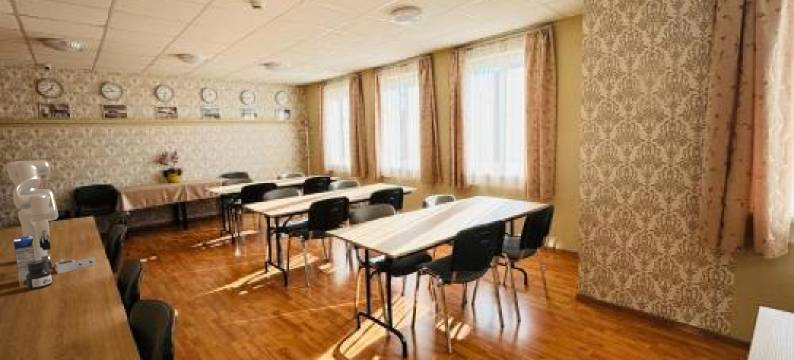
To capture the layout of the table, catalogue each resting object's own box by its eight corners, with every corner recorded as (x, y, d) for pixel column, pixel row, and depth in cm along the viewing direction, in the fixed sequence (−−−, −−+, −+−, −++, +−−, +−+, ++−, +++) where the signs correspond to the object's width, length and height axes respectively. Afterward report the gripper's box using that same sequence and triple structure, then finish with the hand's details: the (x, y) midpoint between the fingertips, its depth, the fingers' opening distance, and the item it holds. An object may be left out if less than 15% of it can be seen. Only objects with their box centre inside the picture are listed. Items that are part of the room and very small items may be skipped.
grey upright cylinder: (42, 268, 217) (40, 256, 217) (51, 267, 220) (50, 254, 220) (43, 270, 215) (41, 257, 214) (53, 268, 218) (51, 256, 217)
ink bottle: (36, 290, 184) (32, 265, 183) (21, 289, 186) (18, 265, 185) (57, 283, 194) (54, 259, 192) (43, 282, 195) (40, 258, 194)
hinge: (52, 267, 219) (51, 259, 219) (90, 260, 232) (89, 252, 231) (58, 273, 208) (57, 265, 207) (97, 265, 220) (96, 257, 220)
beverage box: (19, 286, 191) (13, 241, 189) (19, 280, 199) (13, 238, 197) (38, 282, 196) (33, 238, 193) (37, 277, 204) (32, 235, 201)
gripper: (29, 217, 217) (34, 248, 219) (34, 220, 206) (38, 252, 207) (47, 215, 223) (51, 245, 224) (52, 217, 211) (57, 249, 213)
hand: (45, 248), depth 216 cm, fingers open, 9 cm apart
